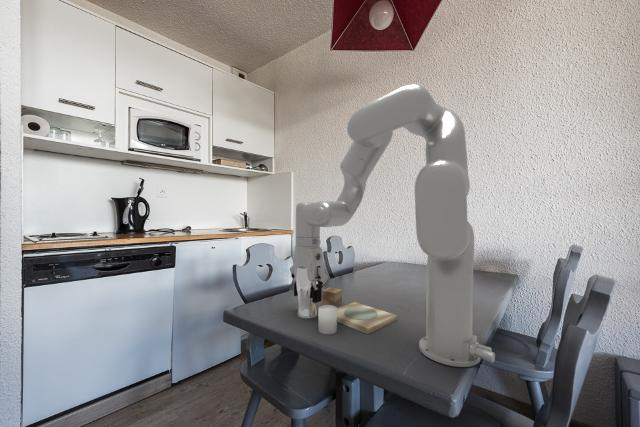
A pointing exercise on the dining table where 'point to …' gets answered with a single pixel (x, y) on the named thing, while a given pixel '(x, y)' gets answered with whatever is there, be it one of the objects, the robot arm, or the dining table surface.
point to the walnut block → (332, 296)
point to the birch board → (364, 317)
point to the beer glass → (305, 295)
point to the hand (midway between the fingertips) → (307, 298)
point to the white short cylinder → (327, 319)
